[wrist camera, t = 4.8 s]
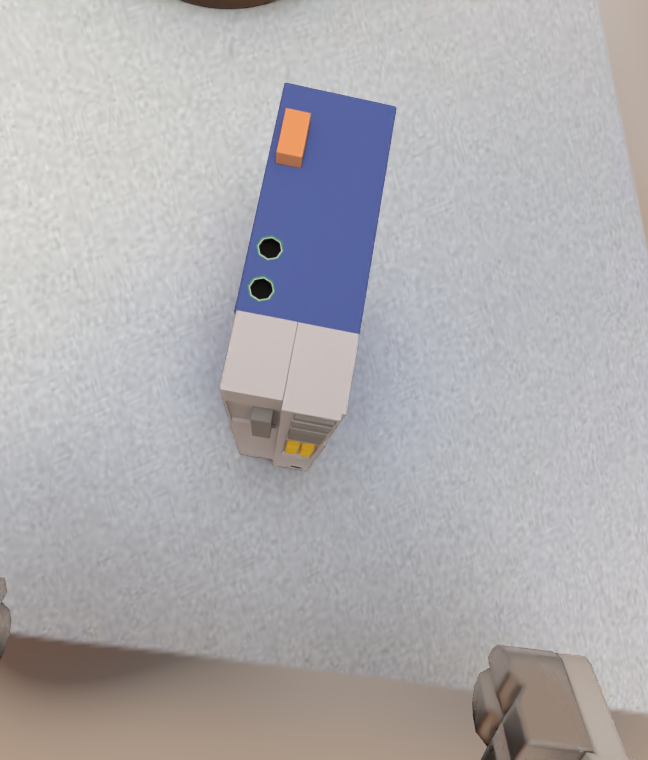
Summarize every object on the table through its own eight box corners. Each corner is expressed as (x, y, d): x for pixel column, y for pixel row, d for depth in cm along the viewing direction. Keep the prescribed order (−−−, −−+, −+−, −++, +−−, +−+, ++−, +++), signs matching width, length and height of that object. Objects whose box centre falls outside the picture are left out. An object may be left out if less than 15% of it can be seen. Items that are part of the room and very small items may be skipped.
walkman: (273, 277, 26) (283, 69, 14) (338, 290, 26) (401, 95, 14) (235, 461, 24) (210, 399, 12) (305, 473, 24) (347, 424, 12)
